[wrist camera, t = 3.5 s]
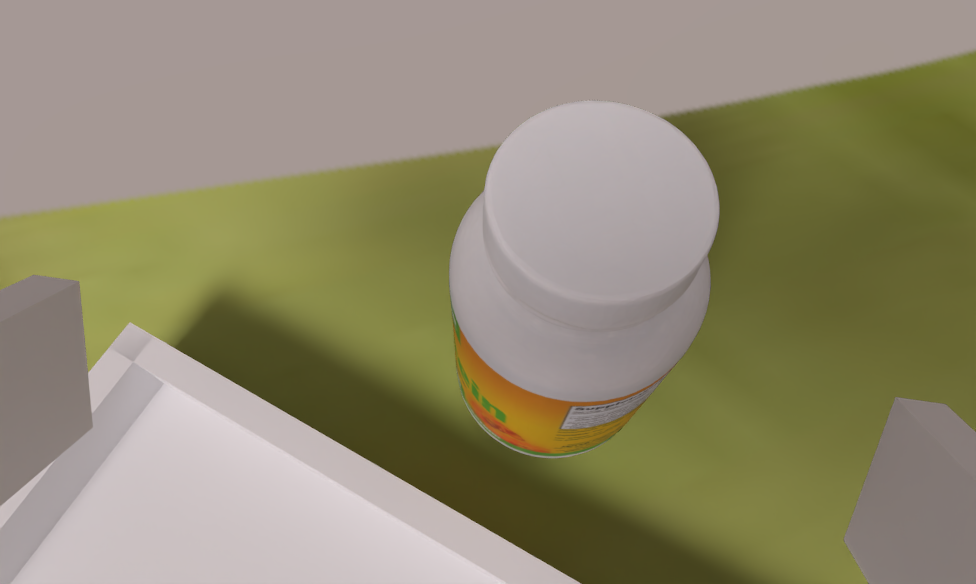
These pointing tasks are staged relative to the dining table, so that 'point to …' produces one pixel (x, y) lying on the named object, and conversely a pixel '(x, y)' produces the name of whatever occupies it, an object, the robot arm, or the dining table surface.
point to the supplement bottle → (580, 274)
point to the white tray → (229, 496)
